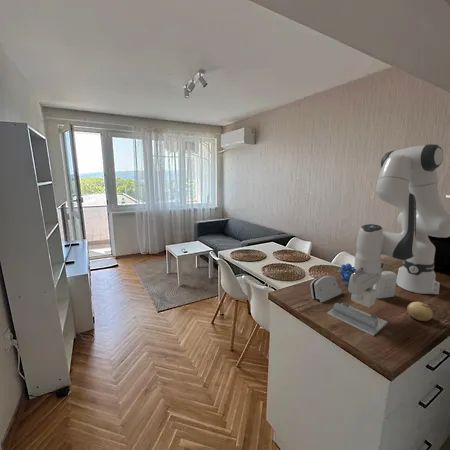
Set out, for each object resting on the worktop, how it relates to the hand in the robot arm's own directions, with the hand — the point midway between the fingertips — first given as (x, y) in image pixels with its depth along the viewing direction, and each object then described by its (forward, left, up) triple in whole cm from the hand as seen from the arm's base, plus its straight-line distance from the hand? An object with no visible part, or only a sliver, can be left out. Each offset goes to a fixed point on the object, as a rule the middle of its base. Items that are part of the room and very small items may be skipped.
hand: (363, 297), depth 99 cm
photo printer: (-23, -1, -8) cm, 24 cm away
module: (0, 0, -2) cm, 2 cm away
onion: (-15, +15, -8) cm, 23 cm away
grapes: (-20, -16, -8) cm, 27 cm away
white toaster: (-4, -19, -8) cm, 21 cm away
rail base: (+5, 0, -8) cm, 9 cm away
